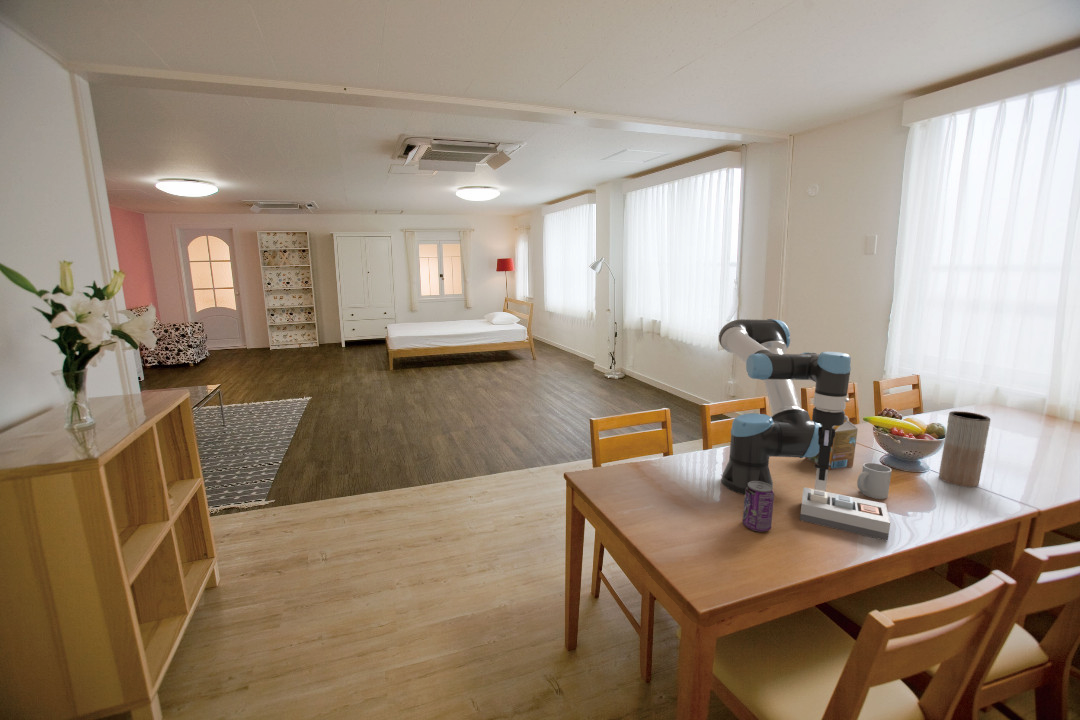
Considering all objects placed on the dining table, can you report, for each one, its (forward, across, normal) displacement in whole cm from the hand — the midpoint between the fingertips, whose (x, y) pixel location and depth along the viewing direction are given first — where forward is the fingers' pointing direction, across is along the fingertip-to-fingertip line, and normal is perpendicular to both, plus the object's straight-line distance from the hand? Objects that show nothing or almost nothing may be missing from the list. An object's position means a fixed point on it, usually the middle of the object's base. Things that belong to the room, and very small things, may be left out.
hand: (820, 489), depth 133 cm
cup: (+8, +23, -14) cm, 28 cm away
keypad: (+8, 0, -6) cm, 10 cm away
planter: (+8, +50, -40) cm, 65 cm away
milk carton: (+8, +46, -3) cm, 47 cm away
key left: (+5, 0, 0) cm, 5 cm away
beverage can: (+8, -16, +14) cm, 23 cm away
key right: (+6, 0, -12) cm, 13 cm away
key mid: (+5, 0, -6) cm, 7 cm away
